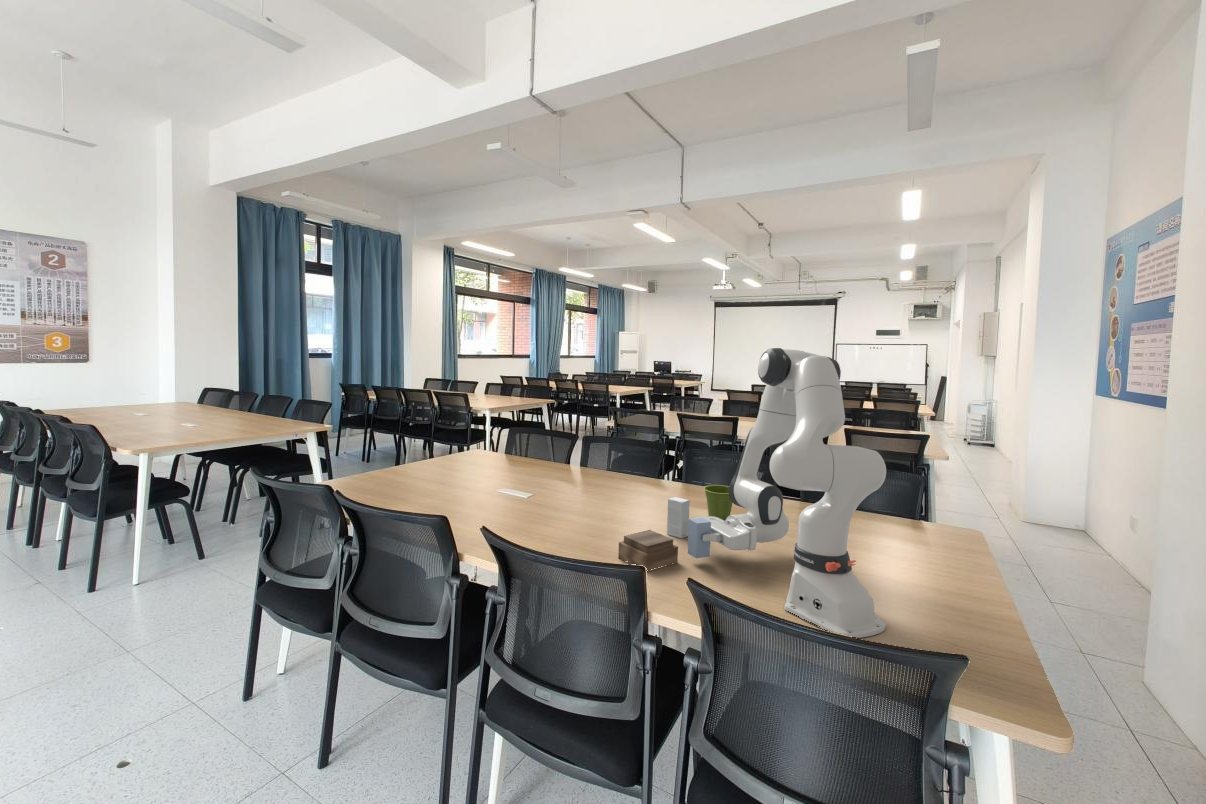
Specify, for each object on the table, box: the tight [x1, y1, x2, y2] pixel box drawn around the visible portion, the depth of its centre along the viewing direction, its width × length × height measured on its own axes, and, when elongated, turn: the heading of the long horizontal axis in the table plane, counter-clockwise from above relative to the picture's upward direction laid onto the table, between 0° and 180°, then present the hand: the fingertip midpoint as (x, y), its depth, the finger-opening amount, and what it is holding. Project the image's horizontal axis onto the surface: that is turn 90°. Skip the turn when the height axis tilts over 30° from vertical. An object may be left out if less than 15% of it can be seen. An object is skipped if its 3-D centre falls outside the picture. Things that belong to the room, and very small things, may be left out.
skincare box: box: [666, 496, 691, 539], centre depth 179 cm, size 6×4×12 cm
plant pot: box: [703, 484, 734, 521], centre depth 197 cm, size 12×12×11 cm
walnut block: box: [617, 529, 679, 572], centre depth 157 cm, size 12×12×7 cm
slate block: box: [687, 517, 711, 559], centre depth 155 cm, size 4×4×10 cm
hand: (696, 534), depth 155 cm, fingers closed on slate block, 4 cm apart
